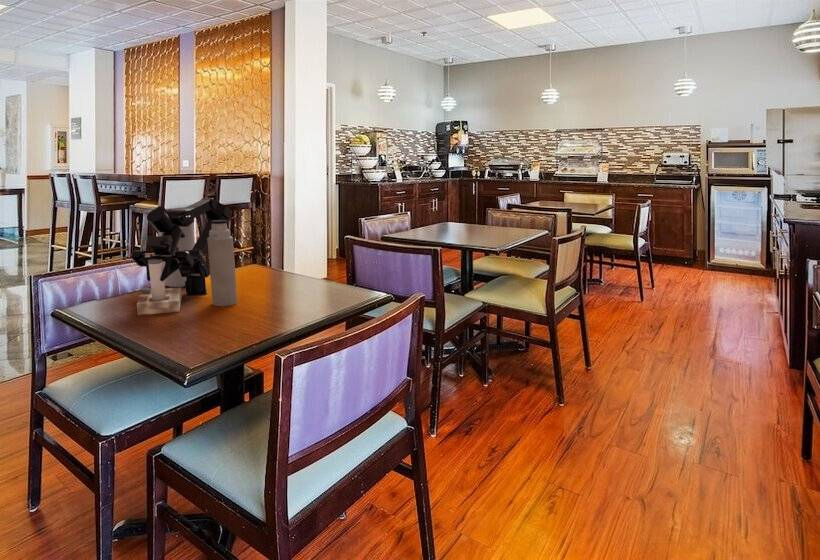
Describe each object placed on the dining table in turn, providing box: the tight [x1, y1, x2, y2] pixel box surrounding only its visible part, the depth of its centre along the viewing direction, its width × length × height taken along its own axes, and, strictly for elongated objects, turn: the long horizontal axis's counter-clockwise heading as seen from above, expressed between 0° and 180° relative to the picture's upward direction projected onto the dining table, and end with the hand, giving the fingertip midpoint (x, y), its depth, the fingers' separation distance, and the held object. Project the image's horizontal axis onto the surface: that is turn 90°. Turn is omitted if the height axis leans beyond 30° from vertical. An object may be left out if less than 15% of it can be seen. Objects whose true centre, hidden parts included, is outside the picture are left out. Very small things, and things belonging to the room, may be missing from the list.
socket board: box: [136, 287, 183, 316], centre depth 179 cm, size 12×20×5 cm, turn 20°
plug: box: [148, 259, 166, 301], centre depth 173 cm, size 4×4×13 cm
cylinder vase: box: [157, 222, 196, 288], centre depth 209 cm, size 12×12×25 cm
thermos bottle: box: [207, 220, 238, 307], centre depth 180 cm, size 8×8×28 cm
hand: (154, 280), depth 172 cm, fingers closed on plug, 4 cm apart
